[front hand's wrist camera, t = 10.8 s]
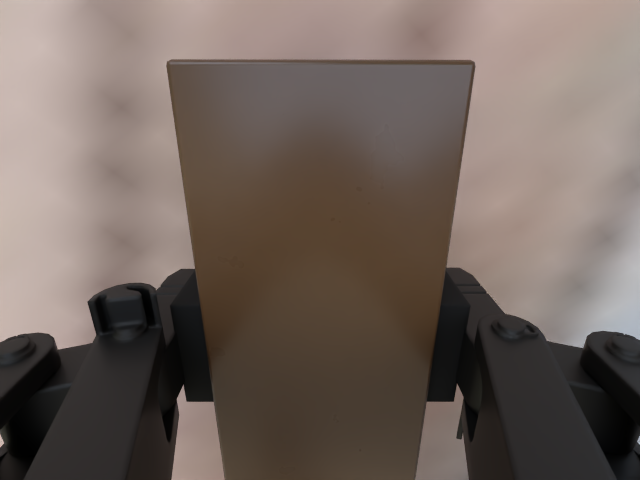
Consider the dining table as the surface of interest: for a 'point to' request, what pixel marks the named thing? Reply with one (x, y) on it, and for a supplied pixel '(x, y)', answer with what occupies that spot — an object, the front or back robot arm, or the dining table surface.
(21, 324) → the dining table surface
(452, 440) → the dining table surface
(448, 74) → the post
